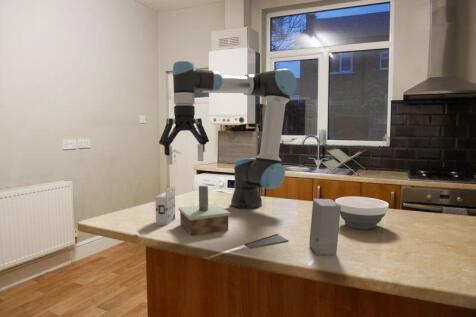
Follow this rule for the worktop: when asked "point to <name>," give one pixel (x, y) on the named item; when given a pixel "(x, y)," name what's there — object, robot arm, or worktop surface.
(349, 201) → the bowl
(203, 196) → the lid
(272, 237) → the grey mat
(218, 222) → the walnut box
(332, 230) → the skincare box
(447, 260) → the worktop surface
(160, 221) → the ink box
